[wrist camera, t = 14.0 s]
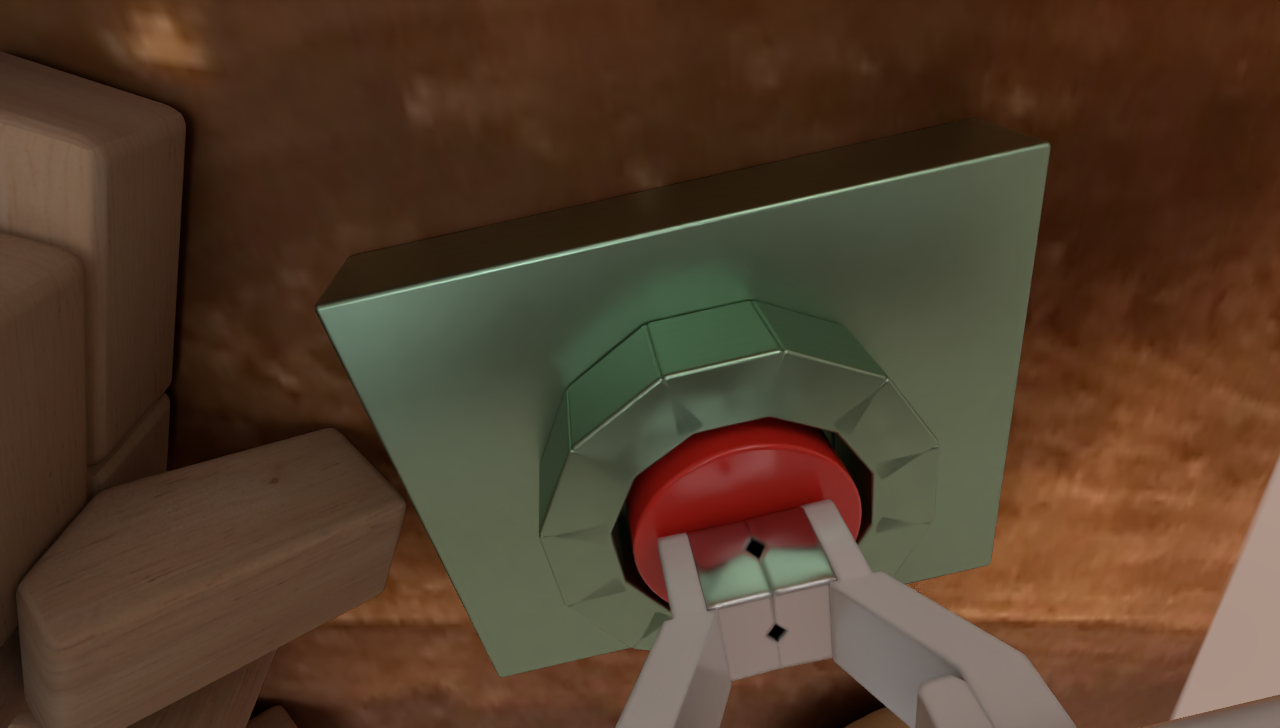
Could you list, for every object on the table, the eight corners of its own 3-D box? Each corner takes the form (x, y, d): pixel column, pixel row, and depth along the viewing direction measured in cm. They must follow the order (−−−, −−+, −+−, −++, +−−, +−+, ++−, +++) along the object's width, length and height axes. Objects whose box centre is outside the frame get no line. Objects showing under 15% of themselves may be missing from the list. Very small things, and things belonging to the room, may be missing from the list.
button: (822, 364, 12) (863, 420, 10) (829, 522, 14) (863, 590, 12) (602, 413, 12) (610, 478, 10) (642, 566, 14) (655, 638, 12)
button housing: (975, 115, 12) (1143, 170, 9) (944, 502, 17) (1040, 630, 14) (346, 255, 12) (269, 365, 9) (503, 603, 17) (494, 757, 14)
